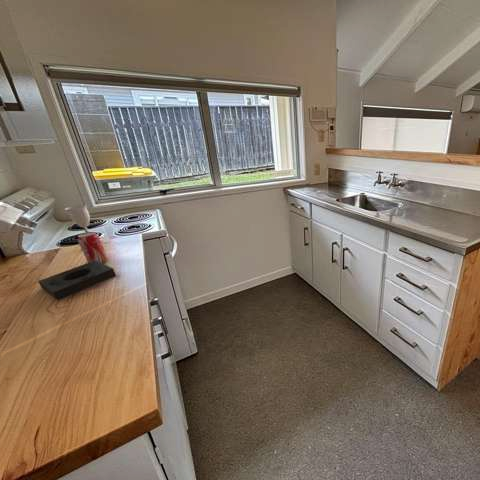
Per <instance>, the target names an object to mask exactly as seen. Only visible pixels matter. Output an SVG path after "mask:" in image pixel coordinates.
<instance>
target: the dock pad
mask: <svg viewBox="0 0 480 480" xmlns="http://www.w3.org/2000/svg"><path fill="white" fill-rule="evenodd" d="M116 276H117V274H116V272H115V270H114V268H113V267H111V266H108V265H107V264H105V263H100V262H98V261H96V260H95V261H92V262H89V263H88V262H87V263H83V264H81V265H78V266H76V267H73V268H70V269H67V270H64V271H61V272H59V273H56V274H54V275H50V276H48V277H45V278H42V279H40V280H38V281H37V283H38V284H39V286H40V288H41V289H42V290H43V291H44V292H46V293H47V294H48V295H50V296H51V297H52V298H54V299H55V300H57V301H60V300H62V299H65V298H67V297H69V296H71V295H74V294H76V293H79V292H81V291H84V290H85V289H88V288H91V287H93V286H95V285H97V284H100V283H102V282H104V281H106V280H109V279H111V278H113V277H116Z"/></svg>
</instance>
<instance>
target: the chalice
mask: <svg viewBox="0 0 480 480" xmlns="http://www.w3.org/2000/svg"><path fill="white" fill-rule="evenodd" d="M87 207H88V206H87V204H78V205H73V206H68V207H66V208H65V210H66V211H67V213H68V215H69V217H70V219H71V220H72V222H74V224H76V225H77V226H78V227H80V228H83V229H84V233H87V232H90V229H88V227H89V226H90V220H91V215H90V213H89V210H88V209H87Z"/></svg>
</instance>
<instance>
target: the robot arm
mask: <svg viewBox="0 0 480 480" xmlns="http://www.w3.org/2000/svg"><path fill="white" fill-rule="evenodd" d="M23 214H24V211H22V210H21V209H19V208H16V207H14V206H13V205H10V204H7V203H5V202H2V201H0V233H3V234H4V233H5V234H7V233H8V232H10V231H14V232H19V233H25V234H28V235H32V234H33V233H34V231H35V229H34V228H36V227H37V225H38V222H37V221H34V220H33V219H31V218H28V217H27V216H24V215H23ZM22 224H24V225H22ZM25 225H26V226H25Z"/></svg>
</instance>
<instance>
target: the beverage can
mask: <svg viewBox="0 0 480 480" xmlns="http://www.w3.org/2000/svg"><path fill="white" fill-rule="evenodd" d="M77 243H78V244H79V247H80V248H81V251H82V253H83V256H84V257H85V260H86V261H87V263H89V262H92V261H95V260H96V261H98V262H100V263H102V264H104V262H106V261H107V260H108V259H109V257H108V255H107V251H106V249H105V247H104V244H103V242H102V240H101V237H100V236H99V234H98V233H96V232H95V231H89V232H87V233H86V232H84V233H81V234H78V235H77Z"/></svg>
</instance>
